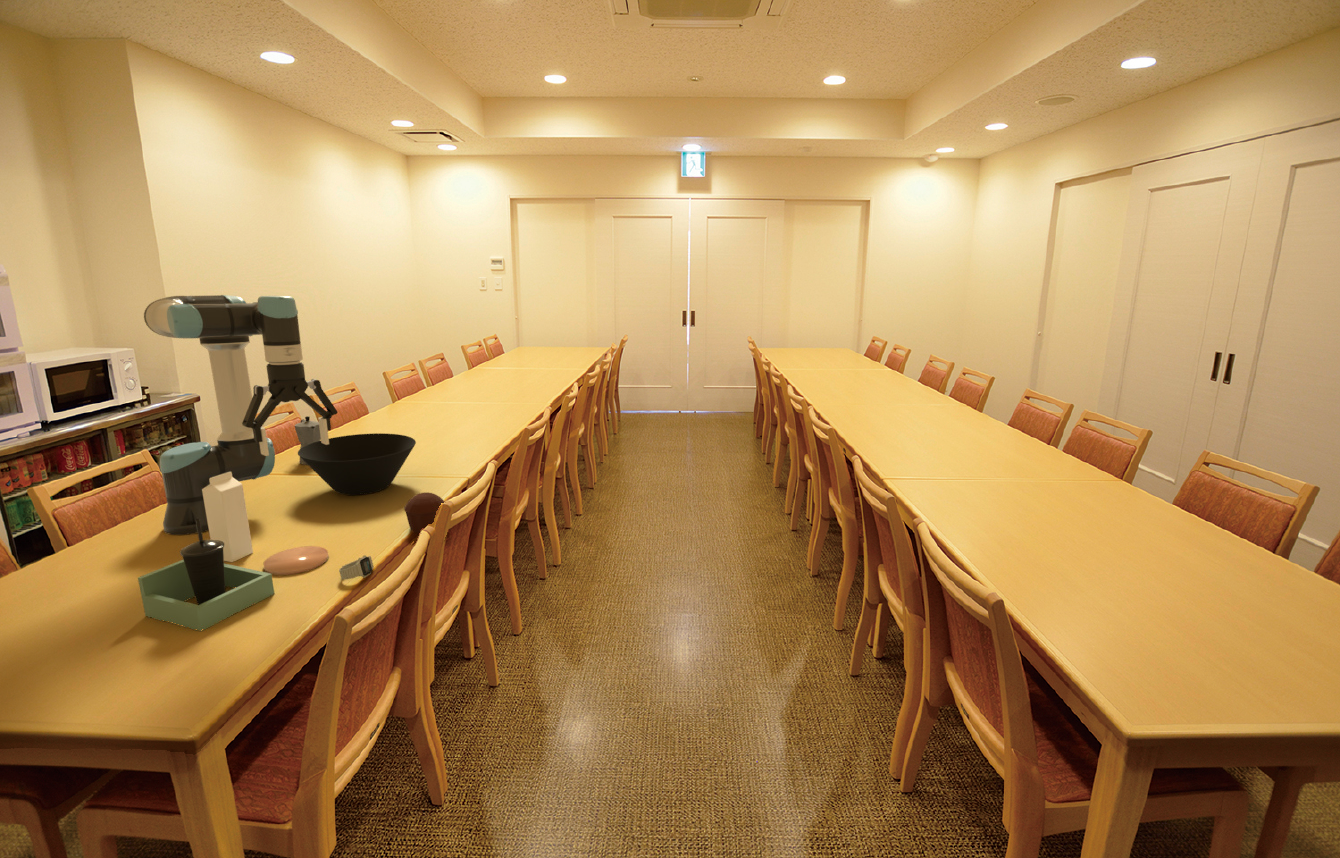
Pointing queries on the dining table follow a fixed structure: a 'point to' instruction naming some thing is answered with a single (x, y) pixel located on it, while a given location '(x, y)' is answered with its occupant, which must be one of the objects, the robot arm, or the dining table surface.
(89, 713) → the dining table surface
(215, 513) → the milk
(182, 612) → the frame
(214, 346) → the robot arm
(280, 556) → the saucer
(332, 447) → the bowl
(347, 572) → the wristwatch
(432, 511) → the muffin
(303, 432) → the coffeepot
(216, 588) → the drinking cup
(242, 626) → the dining table surface
